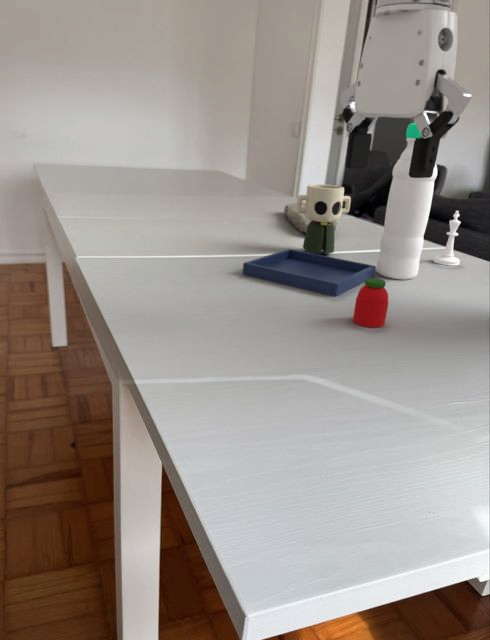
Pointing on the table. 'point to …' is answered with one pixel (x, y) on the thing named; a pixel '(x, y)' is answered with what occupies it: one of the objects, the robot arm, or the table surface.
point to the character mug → (322, 215)
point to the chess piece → (450, 245)
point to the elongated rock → (299, 217)
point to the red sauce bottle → (371, 304)
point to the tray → (310, 271)
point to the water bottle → (405, 217)
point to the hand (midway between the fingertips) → (386, 172)
